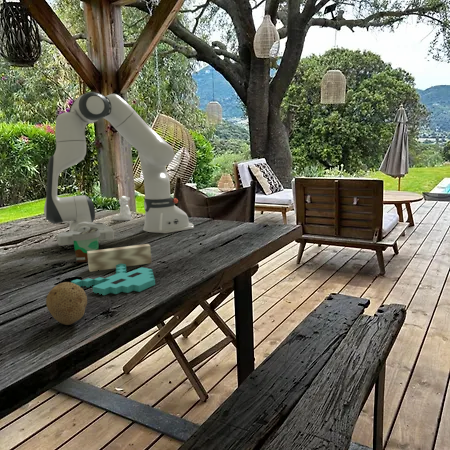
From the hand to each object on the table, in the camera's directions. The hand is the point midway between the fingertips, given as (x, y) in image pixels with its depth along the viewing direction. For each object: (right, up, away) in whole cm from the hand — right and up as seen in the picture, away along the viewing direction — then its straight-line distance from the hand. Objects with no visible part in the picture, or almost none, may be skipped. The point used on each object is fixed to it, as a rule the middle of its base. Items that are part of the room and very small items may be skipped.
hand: (88, 241), depth 163 cm
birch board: (+15, -8, -13) cm, 21 cm away
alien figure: (+19, -12, -29) cm, 36 cm away
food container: (+2, -6, -4) cm, 8 cm away
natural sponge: (+13, -17, -56) cm, 60 cm away
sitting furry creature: (-1, +8, +63) cm, 64 cm away
